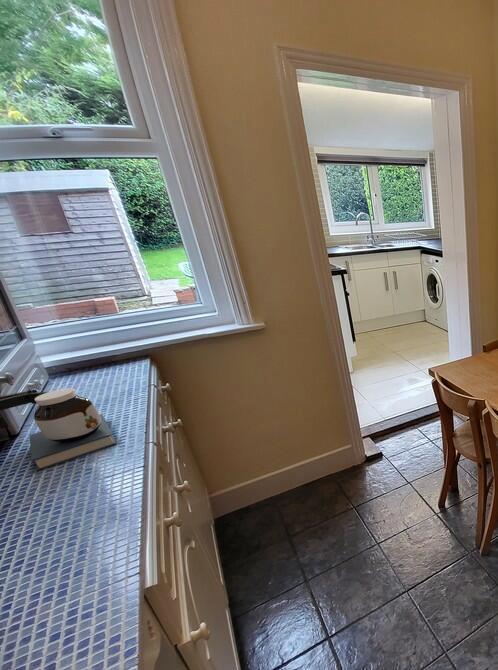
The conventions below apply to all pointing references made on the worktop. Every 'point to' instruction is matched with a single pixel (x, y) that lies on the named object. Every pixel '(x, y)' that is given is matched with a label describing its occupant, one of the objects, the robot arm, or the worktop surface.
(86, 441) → the book
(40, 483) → the worktop surface
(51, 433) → the spread jar
